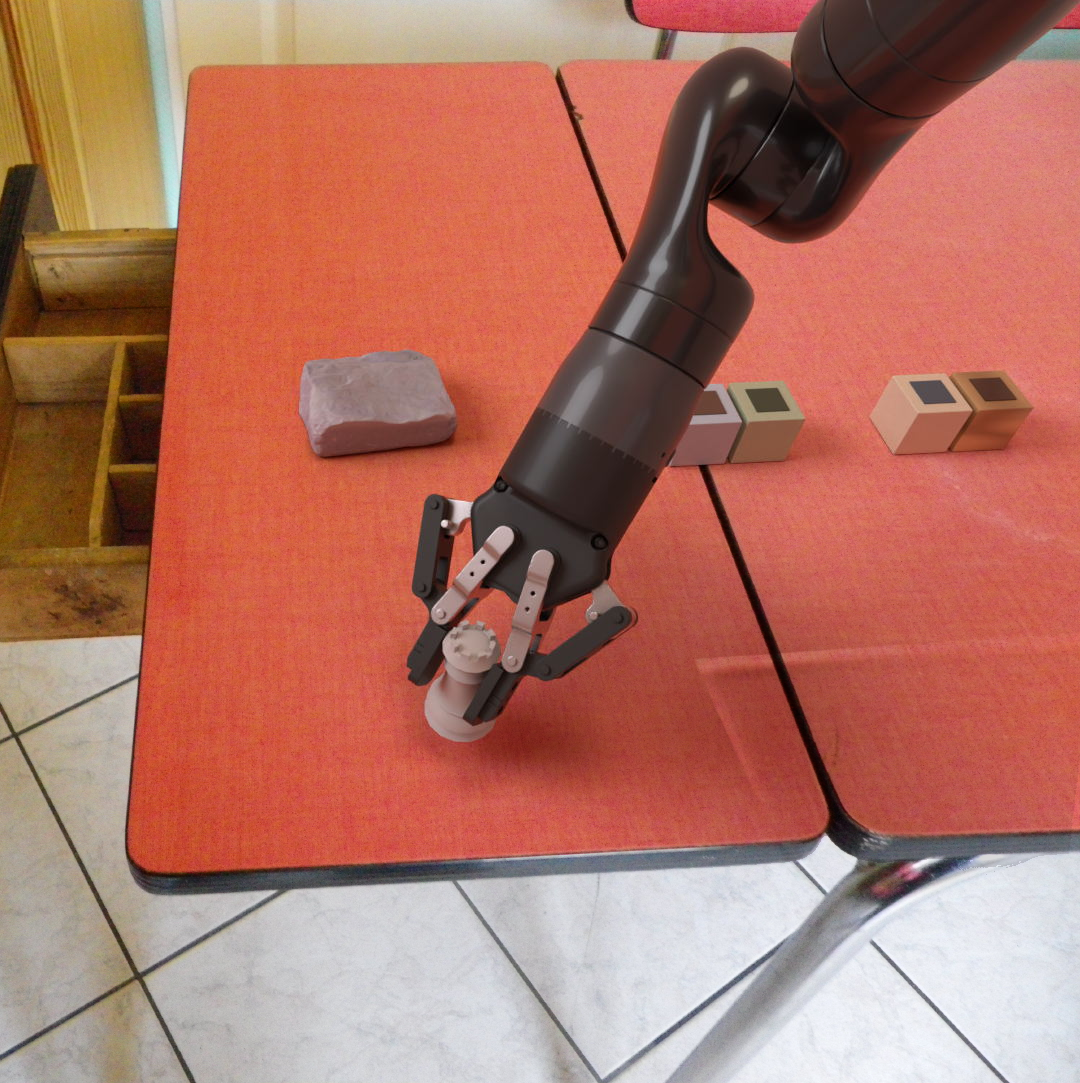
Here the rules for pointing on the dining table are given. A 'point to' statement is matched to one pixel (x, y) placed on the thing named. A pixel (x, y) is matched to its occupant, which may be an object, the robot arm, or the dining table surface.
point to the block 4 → (989, 410)
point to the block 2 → (764, 421)
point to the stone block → (374, 403)
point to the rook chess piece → (462, 681)
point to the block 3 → (920, 413)
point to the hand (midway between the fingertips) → (445, 700)
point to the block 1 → (709, 430)
